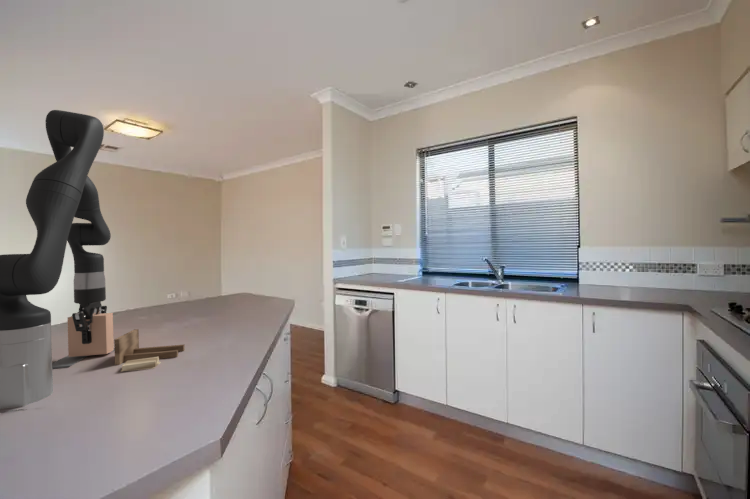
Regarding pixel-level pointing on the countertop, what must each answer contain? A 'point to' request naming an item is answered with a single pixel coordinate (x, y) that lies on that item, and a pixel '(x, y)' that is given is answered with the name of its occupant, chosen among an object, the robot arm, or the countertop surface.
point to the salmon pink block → (99, 334)
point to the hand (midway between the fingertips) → (91, 341)
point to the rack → (141, 349)
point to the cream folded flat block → (144, 368)
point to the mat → (68, 361)
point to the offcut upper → (140, 363)
